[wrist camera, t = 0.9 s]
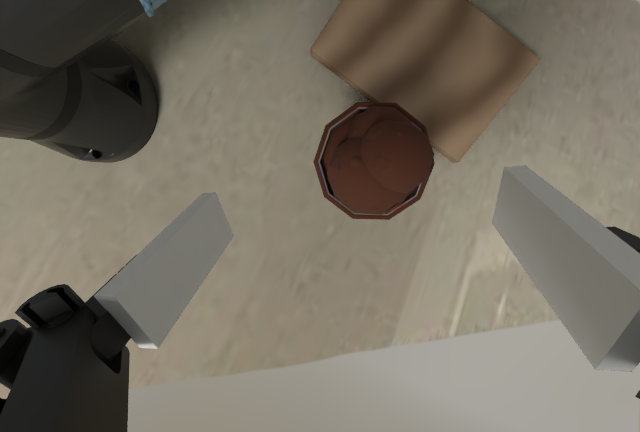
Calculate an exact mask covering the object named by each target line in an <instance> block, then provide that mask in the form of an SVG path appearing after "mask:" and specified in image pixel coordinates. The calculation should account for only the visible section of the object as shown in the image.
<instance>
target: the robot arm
mask: <svg viewBox="0 0 640 432" xmlns="http://www.w3.org/2000/svg"><path fill="white" fill-rule="evenodd" d="M166 1H167V0H0V137H7V138H17V139H25V140H31V141H33V142H35V143H38V144H40V145H43V146H45V147H48V148H50V149H52V150H55V151H57V152H60V153H62V154H64V155H67V156H69V157H72V158H75V159H79V160H83V161H90V162H117V161H121V160H124V159H126V158H129V157H130V156H132V155H134V154H135V153H137V152H138V151H139V150H140V149H141V148H142V147H143V146H144V145H145V144H146V142H147V141H148V139H149V138H150V136H151V134H152V132H153V129H154V127H155V123H156V118H157V97H156V92H155V88H154V85H153V82H152V79H151V77H150V75H149V73H148V72H147V70H146V68H145V67H144V66H143V64H142V63H141V62H140V60H139V59H138V58H137V57H136V56H135V55H134V54H132V53H131V52H130V51H129V50H127V49H126V48H124V47H123V46H121V45H120V44H118V43H116V42H115V41H113V40H111V38H113V37H114V36H116V35H117V34H119V33H121V32H122V31H124V30H125V29H127V28H128V27H130V26H131V25H133V24H134V23H136V22H137V21H139V20H141V19H142V18H144V17H145V16H148V17H149V18H150V17H152V16H153V15H154V10H155V9H157V8H158V7H159V6H161V5H162V4H163V3H165V2H166ZM492 224H493V225H494V226H495V228H496V229H497V231H498V232H499V234H500V235H501V236H502V238H503V239H504V241H505V242H506V244H507V245H508V246H509V248H510V249H511V251H512V252H513V253H514V255H515V256H516V258H517V259H518V261H519V262H520V263H521V265H522V266H523V268H524V269H525V271H526V272H527V273H528V275H529V276H530V278H531V279H532V280H533V282H534V283H535V285H536V286H537V288H538V289H539V290H540V292H541V293H542V295H543V296H544V298H545V299H546V300H547V302H548V303H549V305H550V306H551V307H552V309H553V310H554V312H555V313H556V315H557V316H558V317H559V319H560V320H561V322H562V323H563V325H564V326H565V327H566V329H567V330H568V332H569V333H570V334H571V336H572V337H573V339H574V340H575V342H576V343H577V344H578V346H579V347H580V349H581V350H582V352H583V353H584V354H585V356H586V357H587V359H588V360H589V361H590V363H591V364H592V366H593V367H594V369H595V370H610V371H630V372H632V371H633V370H634V368H635V367H636V366H637V365H638V364H639V362H640V238H638V237H637V236H635V235H632V234H630V233H628V232H625V231H623V230H621V229H619V228H616V227H605V226H603V225H602V224H601V223H599V222H598V221H597V220H596V219H594V218H593V217H592V216H590V215H589V214H588V213H586V212H585V211H584V210H583V209H581V208H580V207H579V206H577V205H576V204H575V203H573V202H572V201H571V200H570V199H568V198H567V197H566V196H564V195H563V194H562V193H560V192H559V191H558V190H557V189H555V188H554V187H553V186H551V185H550V184H549V183H547V182H546V181H545V180H544V179H542V178H541V177H540V176H538V175H537V174H536V173H535V172H533V171H532V170H531V169H529V168H528V167H527V166H514V167H504V170H503V175H502V179H501V184H500V188H499V193H498V197H497V202H496V207H495V211H494V216H493V220H492ZM233 236H234V235H233V233H232V230H231V228H230V225H229V223H228V221H227V218H226V216H225V213H224V211H223V208H222V206H221V204H220V201H219V199H218V196H217V194H216V192H215V193H204V194H202V195H200V196H199V197H198V198H197V199H196V200H195V201H194V202H193V203H192V204H191V205H190V206H189V207H188V208H187V209H186V210H185V211H183V212H182V213H181V214H180V215H179V216H178V217H177V218H176V219H175V220H174V221H173V222H172V223H171V224H170V225H169V226H168V227H166V228H165V229H164V230H163V231H162V232H161V233H160V234H159V235H158V236H157V237H156V238H155V239H154V240H153V241H152V242H151V243H149V244H148V245H147V246H146V247H145V248H144V249H143V250H142V251H141V252H140V253H139V254H137V255H136V256H135V257H134V258H132V259H131V260H130V261H129V262H128V263H127V264H126V266H125V267H123V268H122V269H121V270H120V271H119V272H118V274H115V275H114V276H113V277H112V278H111V279H110V280H109V281H108V282H107V283H106V284H105V285H104V286H103V287H102V288H100V289H99V290H98V291H97V292H96V293H95V294H94V295H93V296H92V297H91V298H90V299H89V300H88V301H87V302H86V303H85V302H84V301H83V300H82V299H81V298H80V297H79V296H78V295H77V294H76V293H75V292H74V291H73V290H72V289H71V288H70V287H69V286H68V285H65V284H63V285H56V286H53V287H50V288H48V289H46V290H44V291H42V292H40V293H38V294H36V295H35V296H33V297H31V298H30V299H28V300H27V301H26V302H25V303H23V304H22V305H21V306H20V307H19V308H18V310H17V311H16V312H15V313H16V314H17V315H18V316H19V317H21V318H22V319H23V320H24V321H25V322H27V323H28V324H29V325H30V326H31V327H30V328H26V327H25V326H24V325H23V324H21V323H20V322H19V321H18V320H15V319H11V320H6V321H3V322H0V383H1V384H3V385H4V386H6V387H7V388H9V389H11V390H10V393H9V395H8V397H7V399H1V398H0V432H127V421H128V386H129V350H128V348H127V347H126V346H125V345H126V343H127V342H128V341H129V340H130V338H132V339H133V341H134V342H135V343H136V344H137V345H138V346H139V347H140V348H159V346H160V345H161V343H162V342H163V340H164V339H165V337H166V336H167V334H168V333H169V331H170V330H171V328H172V327H173V325H174V324H175V322H176V321H177V319H178V318H179V316H180V315H181V313H182V312H183V310H184V309H185V307H186V306H187V304H188V303H189V301H190V300H191V299H192V297H193V296H194V294H195V293H196V291H197V290H198V288H199V287H200V285H201V284H202V282H203V281H204V279H205V278H206V276H207V275H208V273H209V272H210V270H211V269H212V267H213V266H214V264H215V263H216V261H217V260H218V258H219V257H220V255H221V254H222V252H223V251H224V249H225V248H226V246H227V245H228V243H229V242H230V240H231V239H232V237H233ZM636 397H637V398H639V399H640V390H639V392H638V393H637V395H636Z"/></svg>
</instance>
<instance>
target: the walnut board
mask: <svg viewBox="0 0 640 432" xmlns="http://www.w3.org/2000/svg"><path fill="white" fill-rule="evenodd" d="M310 53H311V56H312V57H314V58H315V59H316V60H318V61H319V62H320V63H322V64H323V65H324V66H326V67H327V68H328V69H330V70H331V71H332V72H333V73H335V74H336V75H337V76H339V77H340V78H341V79H343V80H344V81H345V82H347V83H348V84H349V85H351V86H352V87H353V88H355V89H356V90H357V91H359V92H360V93H361V94H363V95H364V96H365V97H367V98H368V99H369V100H371V101H372V102H374V103H397V104H398V105H399V106H401V107H402V108H403V109H404V110H406V111H407V112H408V113H409V114H411V115H412V116H413V117H414V118H416V119H417V120H418V121H419V122H421V123H422V124H423V125H424V126H426V130H427V134H428V138H429V142H430V145H431V146H432V147H433V148H434V149H436V150H437V151H438V152H440V153H441V154H442V155H444V156H445V157H446V158H447V159H449V160H450V161H451V162H453V163H455V162H459V161H460V160H461V159H462V157H463V156H464V155H465V154H466V152H467V151H468V150H469V149H470V147H471V146H472V145H473V143H474V142H475V141H476V140H477V138H478V137H479V136H480V135H481V133H482V132H483V131H484V130H485V128H486V127H487V126H488V125H489V123H490V122H491V121H492V120H493V118H494V117H495V116H496V115H497V113H498V112H499V111H500V109H501V108H502V107H503V106H504V104H505V103H506V102H507V101H508V99H509V98H510V97H511V96H512V94H513V93H514V92H515V91H516V89H517V88H518V87H519V86H520V84H521V83H522V82H523V81H524V79H525V78H526V77H527V75H528V74H529V73H530V72H531V70H532V69H533V68H534V67H535V65H536V64H537V63H538V62H539V60H540V58H539V57H537V56H536V55H535V54H534V53H532V52H531V51H530V50H529V49H527V48H526V47H525V46H524V45H522V44H521V43H520V42H519V41H517V40H516V39H515V38H514V37H512V36H511V35H510V34H509V33H507V32H506V31H505V30H504V29H502V28H501V27H500V26H499V25H497V24H496V23H495V22H494V21H492V20H491V19H490V18H489V17H487V16H486V15H485V14H484V13H482V12H481V11H480V10H479V9H477V8H476V7H475V6H474V5H472V4H471V3H470V2H469V1H467V0H342V1H341V2H340V4H339V6H338V7H337V9H336V10H335V12H334V13H333V15H332V16H331V18H330V19H329V21H328V23H327V24H326V26H325V27H324V29H323V30H322V32H321V33H320V35H319V36H318V38H317V40H316V41H315V43H314V44H313V46H312V47H311V49H310Z"/></svg>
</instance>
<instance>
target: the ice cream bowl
mask: <svg viewBox="0 0 640 432" xmlns="http://www.w3.org/2000/svg"><path fill="white" fill-rule="evenodd" d="M433 156H434V153H433V150H432V148H431V145H430V142H429V138H428V134H427V130H426V126H424V125H423V124H422V123H421V122H419V121H418V120H417V119H416V118H414V117H413V116H412V115H411V114H409V113H408V112H407V111H406V110H404V109H403V108H402V107H401V106H399V105H398V104H397V103H374V102H357V103H356V104H354V105H353V106H352V107H350V108H349V109H347V110H346V111H345V112H343V113H342V114H341V115H339V116H338V117H337V118H335V119H334V120H332V121H331V122H330V123H328V124H327V125H326V126H325V129H324V132H323V135H322V138H321V141H320V144H319V147H318V150H317V153H316V156H315V159H314V165H315V168H316V171H317V174H318V178H319V181H320V184H321V188H322V191H323V194H324V197H325V198H326V199H328V200H329V201H330V202H332V203H333V204H334V205H336V206H337V207H338V208H340V209H341V210H342V211H343V212H345V213H346V214H347V215H349V216H350V217H351V218H353V219H388V220H389V219H391V218H392V217H394V216H395V215H397V214H398V213H400V212H401V211H403V210H404V209H406V208H407V207H409V206H410V205H412V204H413V203H415V202H416V201H418V200H419V199H420V198H421V196H422V193H423V191H424V189H425V186H426V184H427V181H428V179H429V176H430V174H431V172H432V169H433V166H434V164H435V163H434V159H433Z"/></svg>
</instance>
